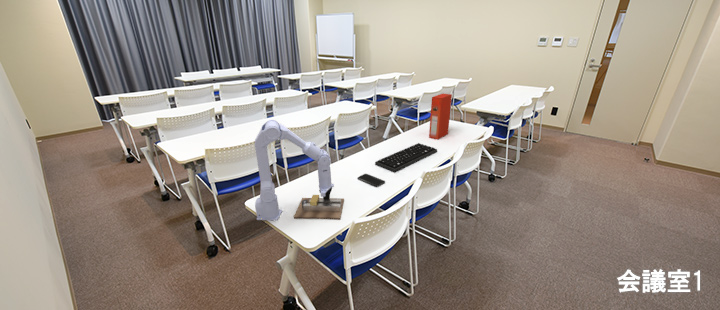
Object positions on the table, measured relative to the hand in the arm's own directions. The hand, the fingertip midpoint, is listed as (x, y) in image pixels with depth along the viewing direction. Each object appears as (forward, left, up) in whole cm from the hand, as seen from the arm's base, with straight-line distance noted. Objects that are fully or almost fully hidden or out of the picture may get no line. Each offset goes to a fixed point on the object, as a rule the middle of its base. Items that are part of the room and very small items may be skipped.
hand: (326, 201), depth 138 cm
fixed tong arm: (-2, -4, -1) cm, 5 cm away
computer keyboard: (+44, +58, -3) cm, 73 cm away
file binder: (+73, +103, -3) cm, 126 cm away
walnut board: (-3, -3, -2) cm, 5 cm away
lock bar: (-5, -4, +2) cm, 6 cm away
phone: (+21, +26, -3) cm, 34 cm away
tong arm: (0, -2, -1) cm, 2 cm away
